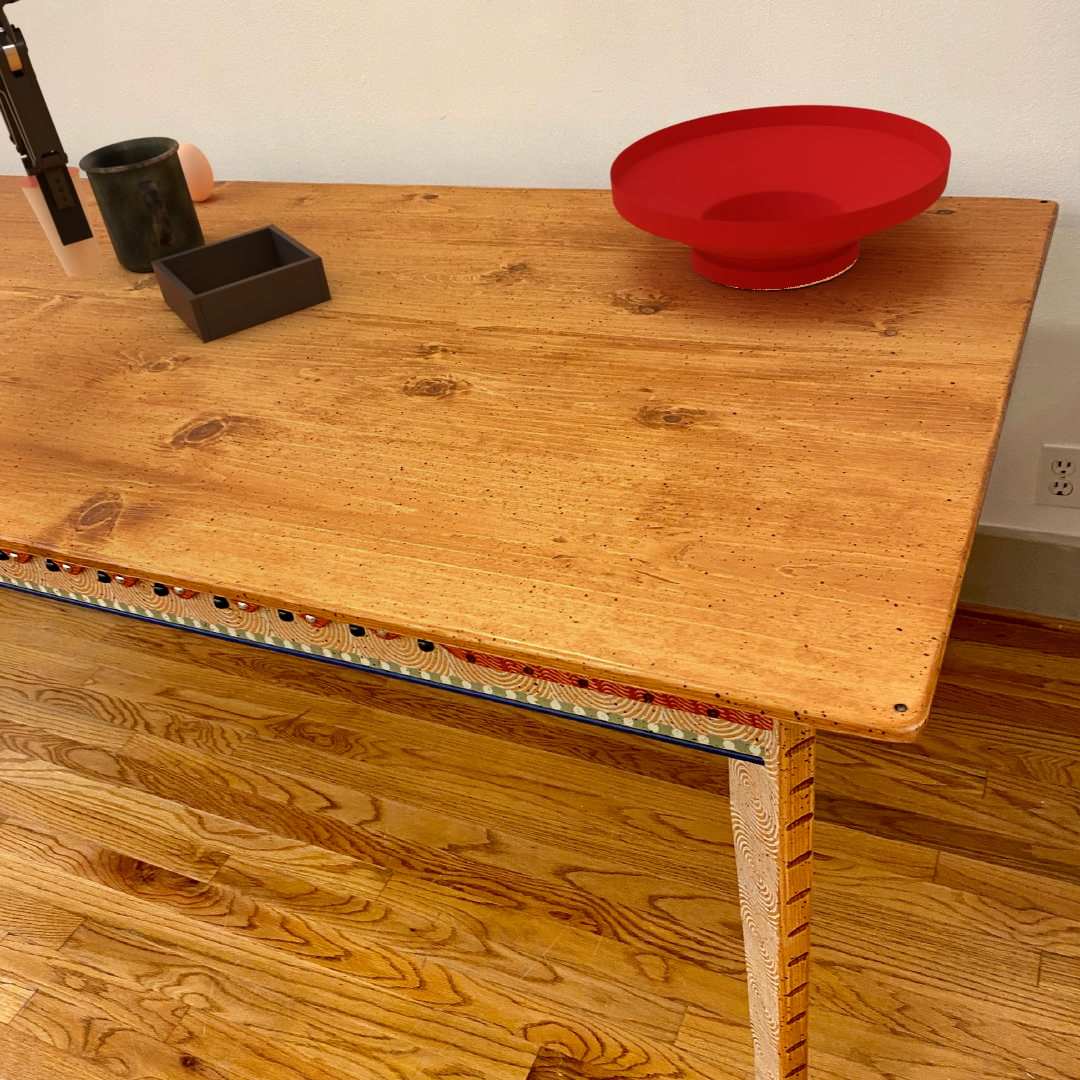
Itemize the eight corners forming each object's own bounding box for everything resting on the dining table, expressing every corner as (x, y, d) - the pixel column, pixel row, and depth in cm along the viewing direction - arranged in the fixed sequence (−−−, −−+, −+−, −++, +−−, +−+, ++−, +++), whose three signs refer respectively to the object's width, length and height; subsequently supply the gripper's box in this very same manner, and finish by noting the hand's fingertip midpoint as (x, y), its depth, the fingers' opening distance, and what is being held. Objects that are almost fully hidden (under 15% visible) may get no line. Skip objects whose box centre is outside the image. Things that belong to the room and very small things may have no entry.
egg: (177, 207, 141) (158, 149, 136) (195, 194, 144) (178, 137, 140) (208, 206, 140) (190, 148, 135) (226, 193, 143) (209, 136, 139)
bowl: (680, 195, 122) (677, 103, 116) (965, 208, 110) (977, 105, 104) (567, 311, 101) (555, 206, 95) (903, 344, 89) (913, 225, 83)
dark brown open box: (204, 343, 105) (189, 300, 103) (164, 301, 115) (150, 261, 112) (331, 298, 110) (321, 256, 108) (283, 263, 120) (272, 223, 118)
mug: (197, 230, 132) (166, 129, 125) (228, 265, 122) (196, 157, 115) (108, 255, 129) (70, 153, 122) (132, 293, 118) (92, 184, 111)
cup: (70, 286, 100) (17, 155, 93) (47, 274, 103) (-6, 146, 96) (123, 265, 103) (76, 136, 96) (99, 254, 106) (52, 129, 99)
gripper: (31, -50, 82) (136, 245, 96) (-10, -63, 95) (87, 198, 109) (-74, -29, 79) (50, 272, 93) (-100, -46, 92) (11, 220, 106)
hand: (70, 231), depth 101 cm, fingers closed on cup, 5 cm apart
